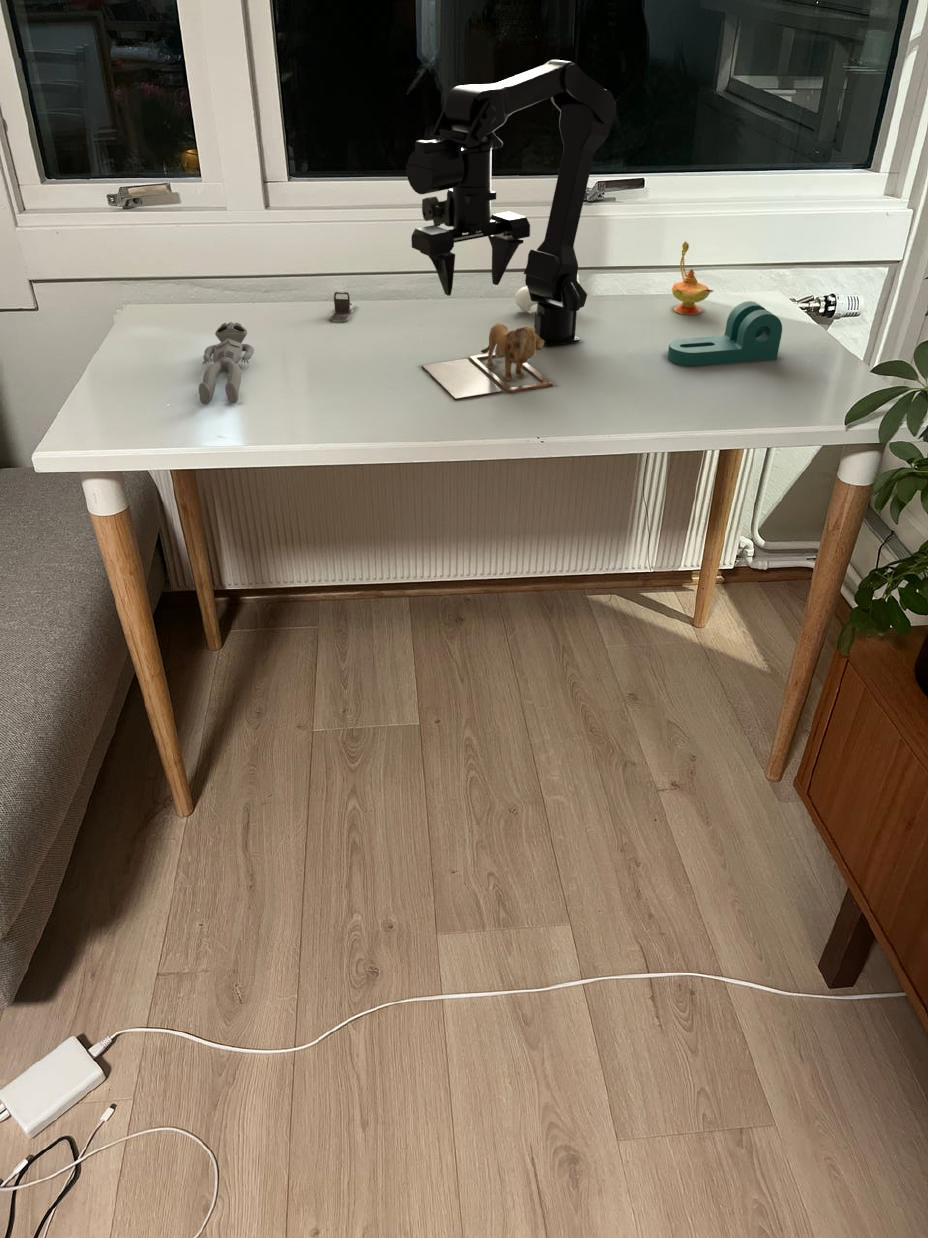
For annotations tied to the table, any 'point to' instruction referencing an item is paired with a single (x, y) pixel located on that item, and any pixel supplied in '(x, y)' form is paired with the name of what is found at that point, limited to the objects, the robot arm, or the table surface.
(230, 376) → the alien figure
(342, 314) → the strap clip
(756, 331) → the bracket
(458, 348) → the table surface
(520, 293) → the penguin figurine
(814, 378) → the table surface
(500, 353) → the lion figurine
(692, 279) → the magic lamp
